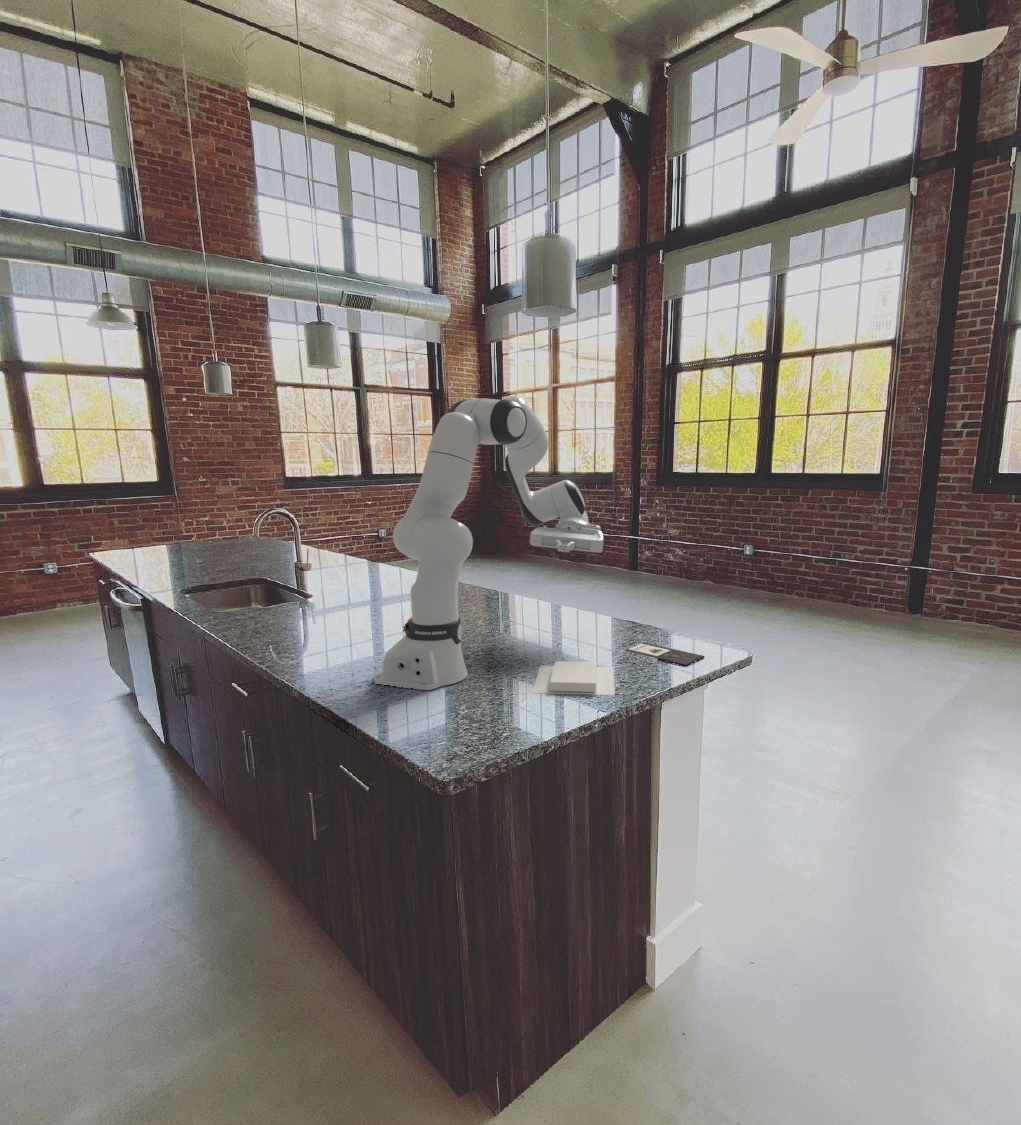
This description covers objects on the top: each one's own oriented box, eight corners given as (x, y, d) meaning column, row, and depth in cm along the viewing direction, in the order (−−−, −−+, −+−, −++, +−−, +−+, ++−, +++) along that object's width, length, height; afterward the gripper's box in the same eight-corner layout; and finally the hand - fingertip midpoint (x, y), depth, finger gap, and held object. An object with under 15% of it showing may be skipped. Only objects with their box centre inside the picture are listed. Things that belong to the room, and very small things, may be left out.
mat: (531, 694, 132) (531, 692, 131) (540, 667, 149) (540, 665, 149) (614, 697, 129) (614, 695, 129) (613, 669, 146) (613, 667, 146)
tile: (555, 670, 145) (550, 692, 131) (555, 661, 145) (549, 682, 131) (596, 671, 144) (596, 693, 130) (596, 662, 143) (595, 683, 130)
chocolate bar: (686, 664, 146) (625, 650, 159) (686, 668, 146) (625, 653, 159) (704, 656, 152) (644, 642, 165) (704, 659, 152) (644, 645, 165)
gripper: (534, 519, 172) (525, 533, 159) (606, 526, 168) (602, 541, 155) (533, 539, 174) (524, 555, 162) (604, 547, 170) (600, 564, 158)
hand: (563, 549), depth 158 cm, fingers closed
